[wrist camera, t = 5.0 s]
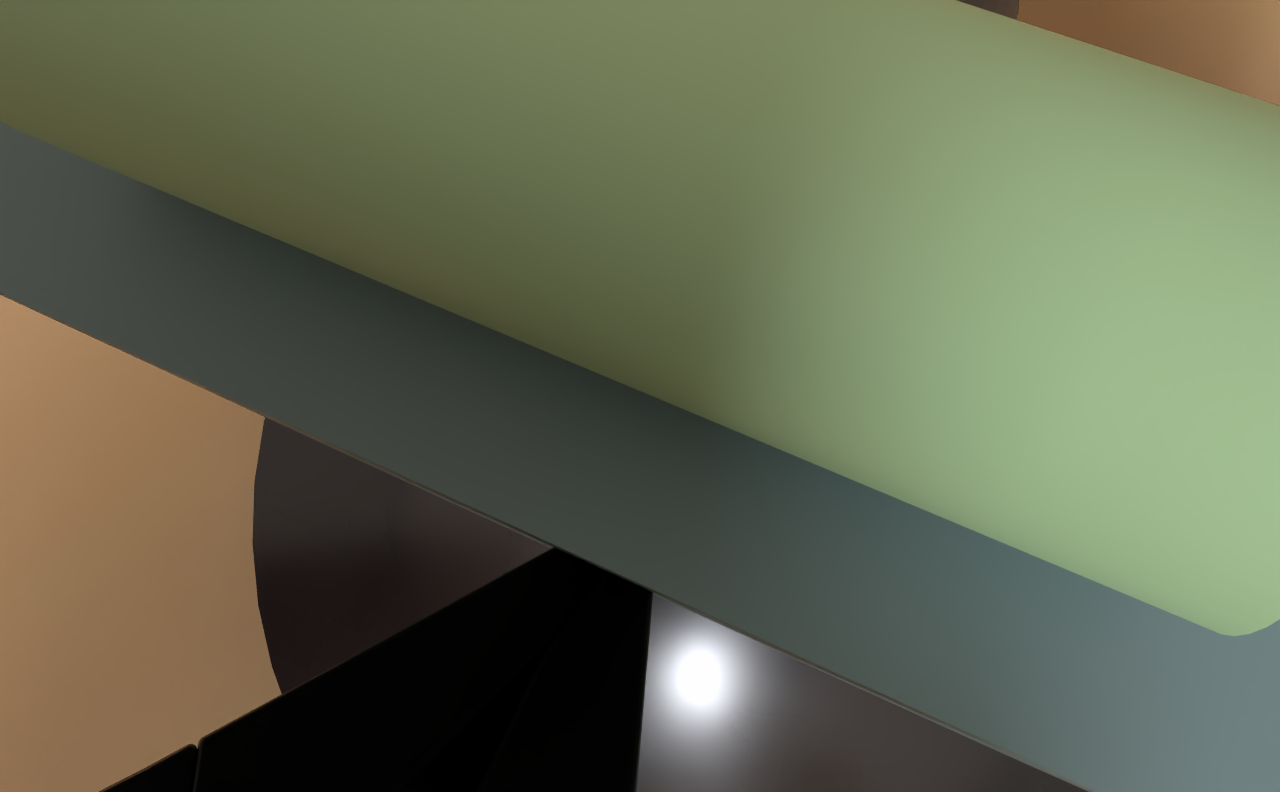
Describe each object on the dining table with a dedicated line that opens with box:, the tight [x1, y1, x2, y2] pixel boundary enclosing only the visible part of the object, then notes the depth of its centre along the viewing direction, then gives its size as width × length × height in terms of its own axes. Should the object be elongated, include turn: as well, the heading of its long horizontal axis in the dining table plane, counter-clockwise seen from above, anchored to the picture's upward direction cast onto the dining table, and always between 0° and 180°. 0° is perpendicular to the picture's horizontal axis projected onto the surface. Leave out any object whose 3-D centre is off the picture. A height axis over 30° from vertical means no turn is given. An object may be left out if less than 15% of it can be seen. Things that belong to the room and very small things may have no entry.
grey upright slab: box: [0, 0, 1280, 792], centre depth 10 cm, size 6×10×12 cm, turn 66°
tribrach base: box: [253, 417, 1088, 792], centre depth 16 cm, size 15×15×2 cm
